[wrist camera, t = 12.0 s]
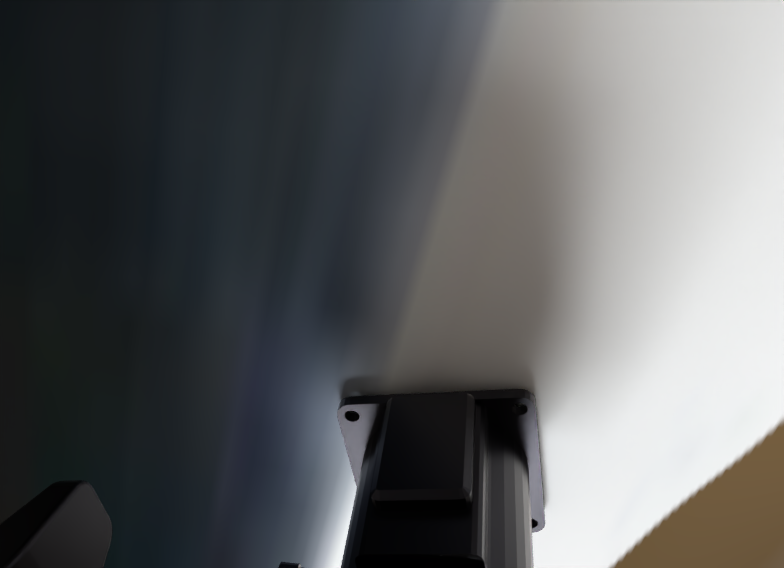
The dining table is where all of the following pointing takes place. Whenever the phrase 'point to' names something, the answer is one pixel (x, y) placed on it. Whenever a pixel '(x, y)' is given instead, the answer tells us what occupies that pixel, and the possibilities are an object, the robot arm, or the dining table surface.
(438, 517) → the robot arm
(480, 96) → the dining table surface
